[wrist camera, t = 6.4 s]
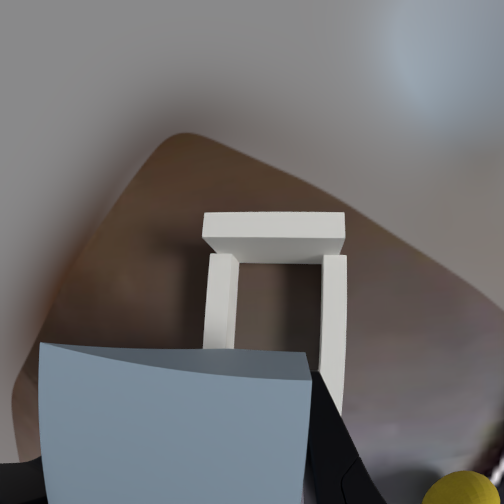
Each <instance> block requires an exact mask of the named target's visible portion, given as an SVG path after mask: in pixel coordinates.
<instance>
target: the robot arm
mask: <svg viewBox="0 0 504 504" xmlns="http://www.w3.org/2000/svg"><path fill="white" fill-rule="evenodd" d="M310 374H311V378H312V390H311V404H310V417H309V429H308V440H307V450H306V460H305V470H304V478H303V490H304V504H387V503H386V502H385V500H384V499H383V497H382V496H381V494H380V493H379V491H378V489H377V488H376V486H375V485H374V483H373V481H372V480H371V478H370V476H369V474H368V472H367V470H366V468H365V466H364V464H363V462H362V460H361V458H360V457H359V454H358V452H357V449H356V447H355V445H354V443H353V441H352V439H351V437H350V435H349V433H348V430H347V428H346V426H345V424H344V422H343V420H342V418H341V416H340V414H339V411H338V409H337V407H336V405H335V403H334V401H333V399H332V397H331V395H330V393H329V390H328V388H327V386H326V384H325V382H324V380H323V378H322V376H321V374H320V372H319V371H318V370H310ZM0 504H48V499H47V493H46V486H45V480H44V472H43V464H42V455H41V456H40V457H38V458H36V459H34V460H31V461H28V462H23V463H3V464H0Z"/></svg>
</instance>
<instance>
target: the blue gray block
mask: <svg viewBox="0 0 504 504" xmlns="http://www.w3.org/2000/svg"><path fill="white" fill-rule="evenodd" d="M311 390H312V378H311V374H310V370H309V365H308V361H307V357H306V353H305V352H282V351H261V350H244V349H230V348H223V349H134V348H109V347H91V346H76V345H64V344H52V343H42V342H40V353H39V382H38V400H39V428H40V443H41V454H42V464H43V472H44V480H45V486H46V493H47V499H48V504H300V503H301V495H302V487H303V478H304V470H305V460H306V450H307V440H308V429H309V417H310V404H311Z"/></svg>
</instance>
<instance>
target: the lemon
mask: <svg viewBox="0 0 504 504" xmlns="http://www.w3.org/2000/svg"><path fill="white" fill-rule="evenodd" d="M422 504H500V498H499V494H498V491H497V489H496V487H495V486H494V485H493V484H492V482H491V481H490V480H489V479H488V478H486V477H485V476H483V475H481V474H479V473H476V472H473V471H458V472H453V473H450V474H448V475H446V476H444V477H442V478H441V479H439V480H438V481H437V482H436V483H435V484H433V485H432V486H431V488H430V489H429V490H428V491H427V493H426V495H425V496H424V498H423V501H422Z"/></svg>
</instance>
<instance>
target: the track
mask: <svg viewBox="0 0 504 504" xmlns="http://www.w3.org/2000/svg"><path fill="white" fill-rule="evenodd" d="M202 238H203V239H204V240H205V241H206V242H207V243H208V244H209V245H210V246H211V247H212V248H213V249H214V250H215V252H216V253H217V254H213V253H210V262H209V273H208V285H207V298H206V311H205V324H204V339H203V349H223V348H230V349H234V336H235V320H236V304H237V289H238V274H239V263H278V264H322V281H321V324H320V349H319V369H318V371H319V372H320V374H321V376H322V378H323V380H324V382H325V384H326V386H327V388H328V390H329V393H330V395H331V397H332V399H333V401H334V403H335V405H336V407H337V409H338V411H339V414H340V416H341V412H342V399H343V386H344V370H345V349H346V317H347V256H346V255H339V254H340V251H341V248H342V246H343V243H344V240H345V219H344V213H341V212H220V213H204V222H203V232H202Z"/></svg>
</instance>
